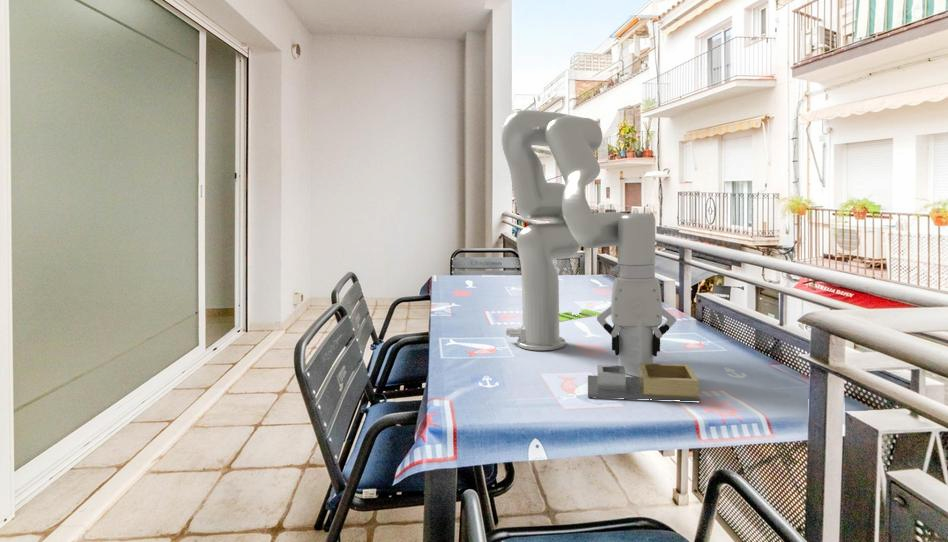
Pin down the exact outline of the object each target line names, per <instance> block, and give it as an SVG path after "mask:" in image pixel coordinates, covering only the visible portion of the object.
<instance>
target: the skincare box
mask: <svg viewBox="0 0 948 542" xmlns="http://www.w3.org/2000/svg"><path fill="white" fill-rule="evenodd" d="M653 333H654V331H653V330H652V328H651V327H645V326H644V322H639V323H638V326H637V327H621V329H620V330H619V332H618V335H619V355H618V366H624V369H625V373H626V375H629V376H631V377H639V363H648V364H654V362H653V361H654V356H653Z"/></svg>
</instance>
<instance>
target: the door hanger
mask: <svg viewBox="0 0 948 542" xmlns="http://www.w3.org/2000/svg"><path fill="white" fill-rule="evenodd" d="M581 310H582V311H581V312H580V313H579V315H578V314H576V315H577V316H576V315H575V314H574V315H572V312H571V311H567V312H559V323H561V322H566V321H572V319H573V320H577V319H578V318H579V319H583V318H590V317H595V316H596V315H597V316H598V315H600V314H601V313H602V312H600V311H595V310H592V309H581ZM597 316H596V317H597Z"/></svg>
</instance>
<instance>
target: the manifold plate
mask: <svg viewBox="0 0 948 542" xmlns="http://www.w3.org/2000/svg"><path fill="white" fill-rule="evenodd" d="M596 367H597V371H596V372H597V375H591V374H589V375H588V374H587V398H588V397H596V398H595V399H597V398H624V399H649V400H650V399H652V400H680V401H700V402H701V397H700V396H699V393H700V392H699V389H700V387H699V385H700V383H699V382H700V380H699V379H698V377H697V375H696V374H695V372H694V371H693V369H692V368H691V366H690V364H679V363H678V364H676V363H653V364H648V363H639V377H636V376H627V374H626V373H625V369H624V366H619V365H609V364H608V365H607V364H605V365H603V364H597V366H596Z"/></svg>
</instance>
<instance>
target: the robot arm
mask: <svg viewBox="0 0 948 542" xmlns="http://www.w3.org/2000/svg"><path fill="white" fill-rule="evenodd" d="M602 142H603V132H602V129H601V127H600V125H599V123H598V122H597V121H596V120H594V119H593V118H589V117H582V116H577V115H571V114H567V113H560V112H552V111H541V110H531V109H530V110H529V109H528V110H527V109H525V110H524V109H523V110H518V111H515V112H513V113H511V114H510V115H508V117H507V118H506V119H505V121H504V124H503V126H502V131H501V145H502V150H503V151H502V152H503V154H504V157H505V160H506V162H507V166H508V169H509V173H510V179H511V185H512V189H513V190H512V191H513V197H514V202H515V206H516V210H517V211H516V212H517V213H518V215H519V217H521V218H522V219H524V220H529V221H530V220H531V221H532V220H534V221H535V220H548V223H547V222H546V223H535V224H530V225H527V226H525V227H524V228H522V229H521V230H520V231H519V233H518V235H517V238H516V248H517V253H518V257H519V264H520V273H521V274H520V275H521V297H522V298H521V305H522V306H521V308H522V309H521V310H522V313H521V314H522V326H521V327H518V328H506V330H505V331H506V333H505V334H506V336H507V337H510V338H518V339H517V340H516V344H517V346H518V347H520V348H522V349H525V350H530V351H552V350H553V351H554V350H559V349H561V348H564V347H565V345H566V339H565V338H564V337H562V336H560V322H559V313H560V288H559V287H560V286H559V285H560V284H559V283H560V282H559V281H560V280H559V275H558V272H557V270H556V269H557V268H556V267H555V265H554V264H553V261H554V260H562V259H568V258H572V257H573V256H575V255H576V254H577V253H578V252H579V251H580V247H583V248H586V249H596V248H608V247H609V248H610V247H617V263H616V264H617V265H614V266H610V274H615V275H616V276H617V277H615V278H614V279H613V283H612V292H611V301H610V303H611V304H610V306H609V307H607V309H605V310H604V311H602V312H600V313H601V314H600V315H597V316H596V321H597V322H598V323H599V324H600V325H601V327H602V328H603V329H604V330H605V331H606V332H607V333H608V334H609V335H611V351H614V354H615V356H618V357H619V330H620V329H621V327H637V326H638V323H639V322H644V326H645V327H651V328H652V330H653V358H655V357H658V353H660V352H661V338H662V337H663V335H665V334H666V332H668V331H669V330H670V328H672V326H673V325H674V324H676V322H677V318H676V317H675V316H674V315H673V314H671V313H670V312H669V311H668V310H666V309H665V308H664V307H663V302H662V289H661V283H660V279H659V278H657V277H656V219H655V216H654V214H651V213H647V212H646V213H645V212H636V213H635V212H634V213H633V212H631V213H625V212H619V211H615V212H613V211H612V212H610V211H609V212H606V211H605V212H593V211H592V208H591V207H590V205H589V203H588V201H587V197H586V194H585V188H586V186H588V185H589V184H590V185H591V183H592V182H594V181H595V180H596V179H597V178H598V177H599V175H600V172H601V165H600V164H599V161H598V160H597V158H596V156H595V154H594V152H596V151H597V150H598V149H599V148H600V147H601V144H602ZM533 146H538V147H539V146H540V147H543V146H544V147H548V148H549V150H550V152H551V154H552V156H553V159H554V162H555V163H556V165H557V167H558V169H559V171H560V174H561V176H562V178H563V180H564V183H565V184H562V183H560V182H547V181H546V178H545V174H544V167H543V164H542V162H541V159H540V158H539V156H538V154H537V153H536V152H535V151H534V150H533V149H532V147H533ZM609 316H610V317H611V318H610V319H611V322H612V324H613V325H611V324H610V323H608V322H607V320H606V319H607V318H608V317H609ZM663 317H664V319H666V320H665V322H664V323H663ZM662 323H663V324H662Z"/></svg>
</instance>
